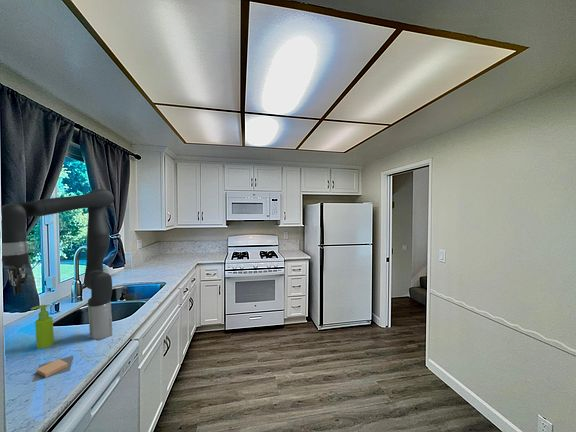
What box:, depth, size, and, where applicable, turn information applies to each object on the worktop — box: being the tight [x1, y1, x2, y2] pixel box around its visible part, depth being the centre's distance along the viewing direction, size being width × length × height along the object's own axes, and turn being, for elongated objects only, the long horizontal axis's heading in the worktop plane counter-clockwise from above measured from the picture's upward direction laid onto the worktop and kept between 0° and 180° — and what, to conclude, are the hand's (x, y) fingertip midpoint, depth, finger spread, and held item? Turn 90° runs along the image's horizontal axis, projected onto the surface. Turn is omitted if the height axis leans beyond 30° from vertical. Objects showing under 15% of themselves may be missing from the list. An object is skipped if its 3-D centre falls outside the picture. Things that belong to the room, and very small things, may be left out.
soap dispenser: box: [30, 304, 55, 350], centre depth 118 cm, size 6×7×20 cm
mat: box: [31, 355, 74, 383], centre depth 103 cm, size 11×12×1 cm
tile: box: [36, 358, 68, 378], centre depth 102 cm, size 2×7×7 cm
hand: (18, 294), depth 103 cm, fingers closed
